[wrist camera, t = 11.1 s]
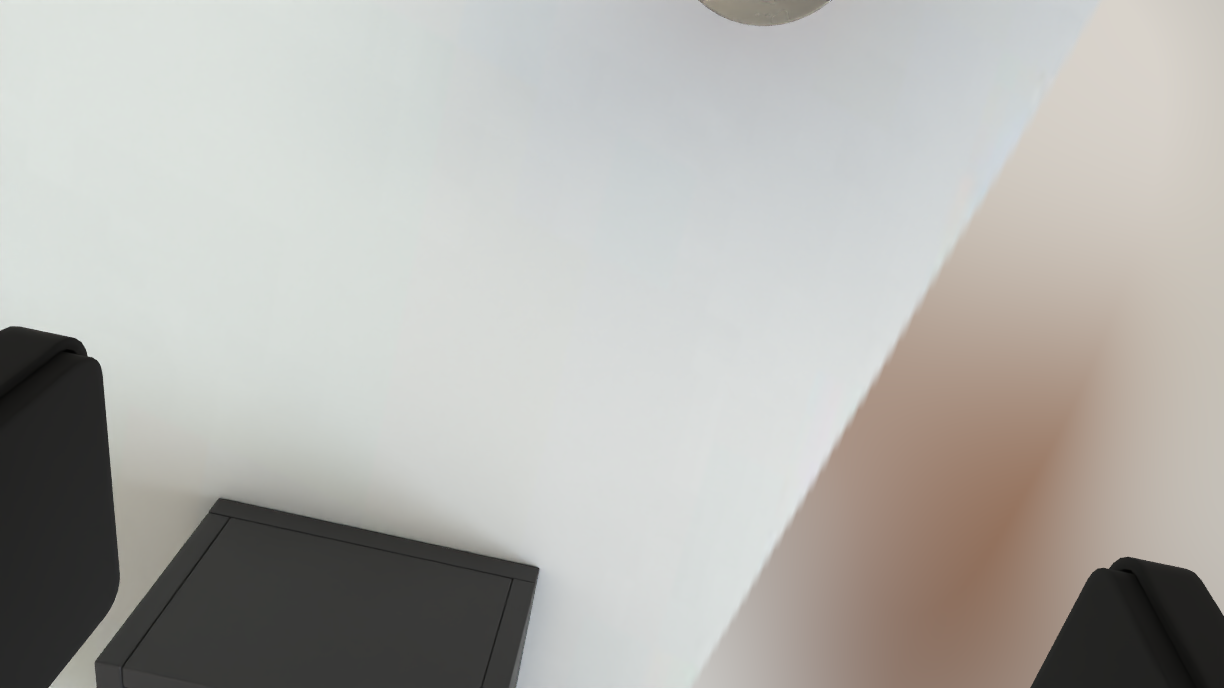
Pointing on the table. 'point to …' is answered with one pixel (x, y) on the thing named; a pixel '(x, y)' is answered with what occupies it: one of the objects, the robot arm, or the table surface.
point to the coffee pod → (764, 10)
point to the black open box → (321, 611)
